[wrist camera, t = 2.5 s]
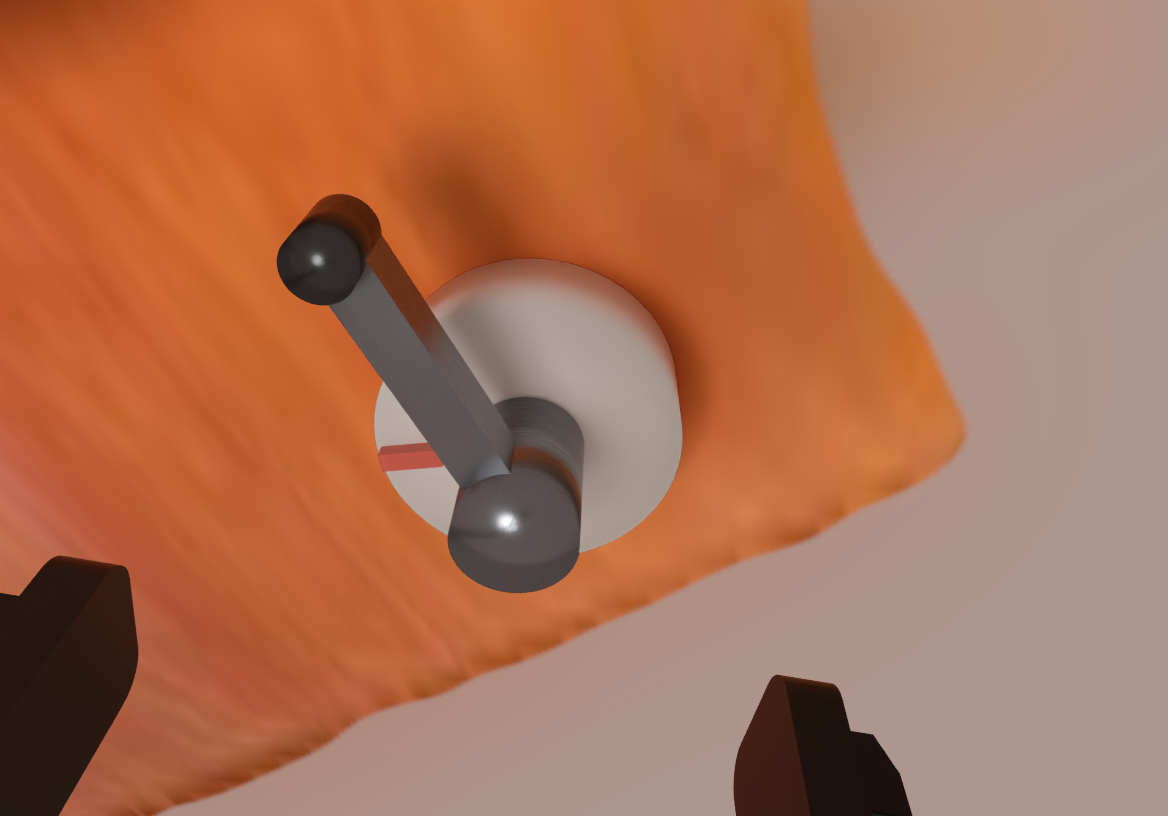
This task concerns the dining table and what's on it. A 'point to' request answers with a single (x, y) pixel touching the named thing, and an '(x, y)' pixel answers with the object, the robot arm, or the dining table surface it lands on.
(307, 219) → the capstan lever
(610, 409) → the stand
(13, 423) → the dining table surface
